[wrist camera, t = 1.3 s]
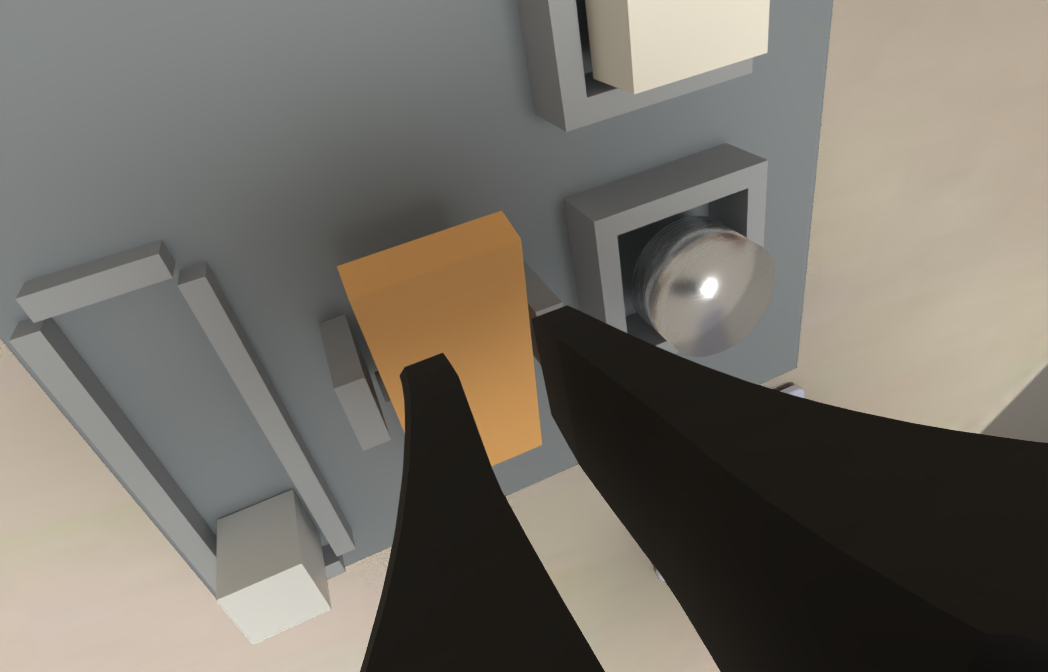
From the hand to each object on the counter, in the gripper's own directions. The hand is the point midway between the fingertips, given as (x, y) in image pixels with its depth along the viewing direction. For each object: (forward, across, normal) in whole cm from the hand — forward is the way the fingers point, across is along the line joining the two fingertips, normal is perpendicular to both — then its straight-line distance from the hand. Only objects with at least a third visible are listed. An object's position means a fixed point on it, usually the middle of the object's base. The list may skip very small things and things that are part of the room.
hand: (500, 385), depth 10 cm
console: (+9, -2, +2) cm, 10 cm away
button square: (+6, -7, -4) cm, 10 cm away
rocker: (+5, 0, +3) cm, 6 cm away
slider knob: (+7, +6, +8) cm, 13 cm away
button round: (+6, -7, +3) cm, 10 cm away
